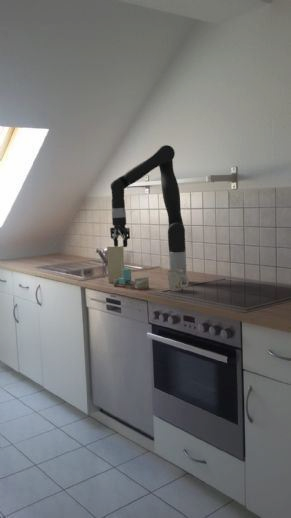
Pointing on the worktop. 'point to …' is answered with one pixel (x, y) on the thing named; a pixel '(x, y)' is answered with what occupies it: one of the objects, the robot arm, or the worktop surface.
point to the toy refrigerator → (115, 262)
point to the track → (134, 283)
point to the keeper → (125, 276)
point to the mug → (176, 280)
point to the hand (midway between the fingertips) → (120, 246)
